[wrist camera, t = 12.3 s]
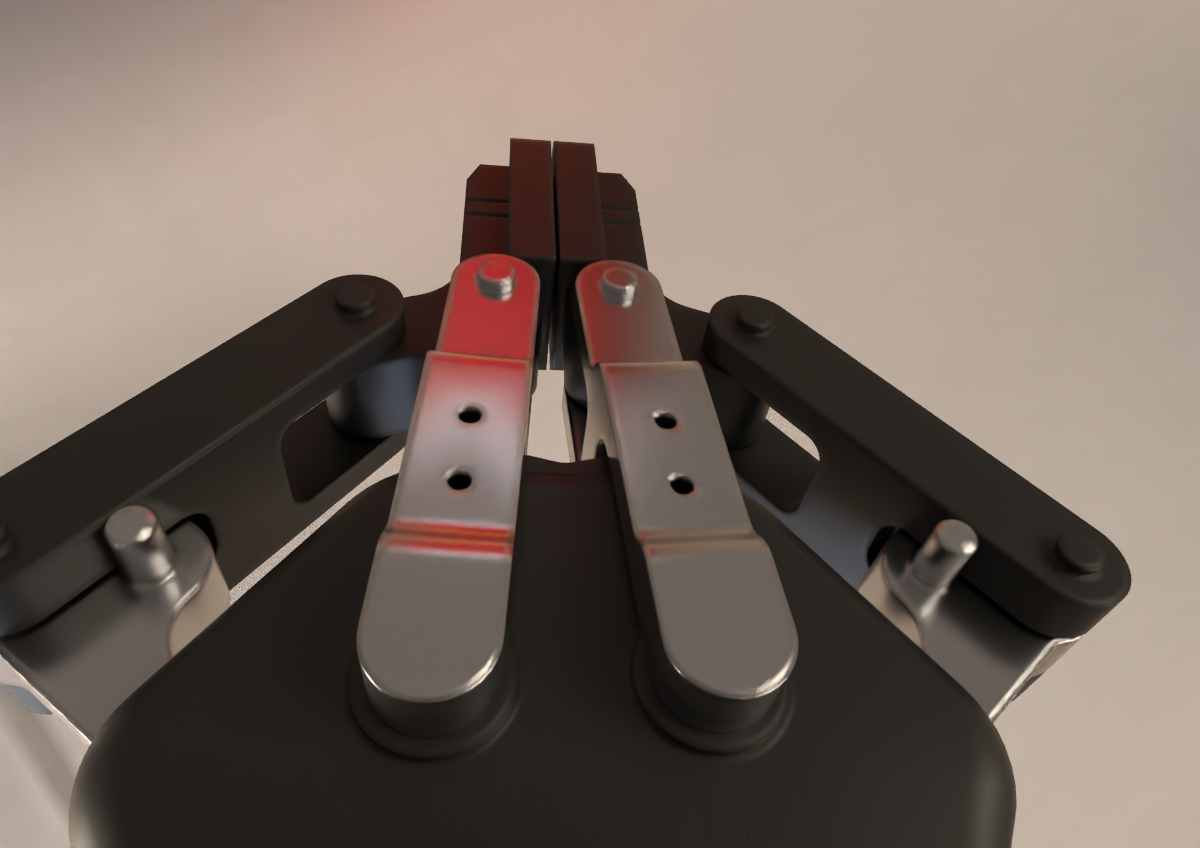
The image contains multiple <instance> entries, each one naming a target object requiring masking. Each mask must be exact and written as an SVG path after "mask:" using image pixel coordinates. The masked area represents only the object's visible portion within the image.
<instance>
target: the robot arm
mask: <svg viewBox="0 0 1200 848" xmlns="http://www.w3.org/2000/svg"><path fill="white" fill-rule="evenodd" d="M548 343H549V354H550V370H564V389H563V398H562V410H563V417H564V424H565V430H566V437H567V444H568V451H569V457H570V463H560V462H555V461H550V460H546V459H542V458H537V457H533V456H528V455H527V446H528V435H529V425H530V414H531V403H532V395H533V393H534V392H535V389H536V386H537V375H538V370H546V366H547V354H548ZM324 399H325V400H324ZM323 400H324V401H323ZM321 401H323V402H321ZM320 402H321V403H320ZM319 403H320V404H319ZM317 404H318V405H317ZM316 405H317V406H316ZM314 406H316V407H314ZM313 407H314V408H313ZM769 407H771V408H773V409H774V410H775V411H776V412H778V413H779V414H780V415H781V416H783V417H784V418H785V419H787V420H788V421H789V422H790V423H792V424H793V425H794V426H796V427H797V428H798V429H799V430H801V431H802V432H803V433H805V434H806V435H807V436H808V437H809V438H810V439H811V440H812V441H813V443H814V444H815V446H816V447H817V450H818V452H819V457H820V461H818V460H817V459H816V458H815V457H813V456H812V455H811V454H810V453H808V452H807V451H806V450H804V449H803V448H802V447H801V446H799V445H798V444H797V443H796V442H794V441H793V440H792V439H791V438H789V437H788V436H787V435H786V434H784V433H783V432H782V431H781V430H779V429H778V428H777V427H775V426H774V425H773V424H772V423H770V422H769V421H768V420H767V419H765V418H766V415H767V413H768V410H769ZM312 408H313V409H312ZM310 409H311V410H310ZM309 410H310V411H309ZM307 411H309V412H307ZM306 412H307V413H306ZM305 413H306V414H305ZM303 414H304V415H303ZM302 415H303V416H302ZM300 416H302V417H300ZM299 417H300V418H299ZM298 418H299V419H298ZM296 419H297V420H296ZM295 420H296V421H295ZM404 447H405V449H404V454H403V458H402V463H401V467H400V471H399V473H397V474H395V475H392V476H390V477H387V478H385V479H383V480H381V481H379V482H377V483H375V484H373V485H371V486H370V487H368V488H366V489H365V490H363V491H362V492H361V493H359V494H358V495H356V496H355V497H354V498H352V499H351V500H350V501H349V502H348V503H346V504H345V505H344V506H343V507H342V508H341V509H340V510H338V511H337V512H336V513H335V514H334V515H333V516H332V517H331V518H329V519H328V520H327V521H326V522H325V523H324V524H323V525H322V526H320V527H319V528H318V529H317V530H316V531H315V532H314V533H313V534H311V535H310V536H309V537H308V538H307V539H306V540H305V541H303V542H302V543H301V544H300V545H299V546H298V547H297V548H296V549H294V550H293V551H292V552H291V553H290V554H289V555H288V556H287V557H285V558H284V559H283V560H282V561H281V562H280V563H279V564H278V565H276V566H275V567H274V568H273V569H272V570H271V571H270V572H268V573H267V574H266V575H265V576H264V577H263V578H262V579H261V580H259V581H258V582H257V583H256V584H255V585H254V586H253V587H252V588H250V589H249V590H248V591H247V592H246V593H245V594H244V595H242V596H241V597H240V598H239V599H238V600H237V601H236V602H235V603H233V604H232V605H231V606H230V593H229V591H230V590H231V589H232V588H233V587H234V586H236V585H237V584H238V583H239V582H241V581H242V580H243V579H244V578H245V577H247V576H248V575H249V574H250V573H252V572H253V571H254V570H255V569H256V568H258V567H259V566H260V565H261V564H262V563H264V562H265V561H266V560H267V559H269V558H270V557H271V556H272V555H273V554H275V553H276V552H277V551H278V550H280V549H281V548H282V547H283V546H284V545H286V544H287V543H288V542H289V541H291V540H292V539H293V538H294V537H295V536H297V535H298V534H299V533H300V532H302V531H303V530H304V529H305V528H306V527H308V526H309V525H310V524H311V523H312V522H314V521H315V520H316V519H317V518H319V517H320V516H321V515H322V514H323V513H325V512H326V511H327V510H328V509H330V508H331V507H332V506H333V505H334V504H336V503H337V502H338V501H339V500H341V499H342V498H343V497H344V496H345V495H347V494H348V493H349V492H350V491H352V490H353V489H354V488H355V487H356V486H358V485H359V484H360V483H361V482H362V481H364V480H365V479H366V478H367V477H369V476H370V475H371V474H372V473H373V472H375V471H376V470H377V469H378V468H380V467H381V466H382V465H383V464H384V463H386V462H387V461H388V460H389V459H391V458H392V457H393V456H394V455H395V454H397V453H398V452H399V451H400V450H401V449H403V448H404ZM1130 587H1131V573H1130V570H1129V567H1128V564H1127V562H1126V560H1125V558H1124V557H1123V555H1122V554H1121V552H1120V551H1119V550H1118V548H1117V547H1116V546H1115V545H1114V544H1113V543H1112V542H1111V541H1110V540H1109V539H1108V538H1107V537H1106V536H1105V535H1103V534H1102V533H1101V532H1099V531H1098V530H1097V529H1095V528H1094V527H1092V526H1091V525H1090V524H1088V523H1087V522H1085V521H1084V520H1083V519H1081V518H1080V517H1078V516H1077V515H1075V514H1074V513H1073V512H1071V511H1070V510H1068V509H1067V508H1065V507H1064V506H1063V505H1061V504H1060V503H1058V502H1057V501H1056V500H1054V499H1053V498H1051V497H1050V496H1048V495H1047V494H1046V493H1044V492H1043V491H1041V490H1040V489H1039V488H1037V487H1036V486H1034V485H1033V484H1031V483H1030V482H1029V481H1027V480H1026V479H1024V478H1023V477H1021V476H1020V475H1019V474H1017V473H1016V472H1014V471H1013V470H1012V469H1010V468H1009V467H1007V466H1006V465H1004V464H1003V463H1002V462H1000V461H999V460H997V459H996V458H994V457H993V456H992V455H990V454H989V453H987V452H986V451H985V450H983V449H982V448H980V447H979V446H977V445H976V444H975V443H973V442H972V441H970V440H969V439H968V438H966V437H965V436H963V435H962V434H960V433H959V432H958V431H956V430H955V429H953V428H952V427H950V426H949V425H948V424H946V423H945V422H943V421H942V420H941V419H939V418H938V417H936V416H935V415H933V414H932V413H931V412H929V411H928V410H926V409H925V408H923V407H922V406H921V405H919V404H918V403H916V402H915V401H914V400H912V399H911V398H909V397H908V396H906V395H905V394H904V393H902V392H901V391H899V390H898V389H897V388H895V387H894V386H892V385H891V384H889V383H888V382H887V381H885V380H884V379H882V378H881V377H879V376H878V375H877V374H875V373H874V372H872V371H871V370H870V369H868V368H867V367H865V366H864V365H862V364H861V363H860V362H858V361H857V360H855V359H854V358H853V357H851V356H850V355H848V354H847V353H845V352H844V351H843V350H841V349H840V348H838V347H837V346H835V345H834V344H833V343H831V342H830V341H828V340H827V339H826V338H824V337H823V336H821V335H820V334H818V333H817V332H816V331H814V330H813V329H811V328H810V327H808V326H807V325H806V324H804V323H803V322H801V321H800V320H799V319H797V318H796V317H794V316H793V315H791V314H790V313H789V312H787V311H786V310H784V309H783V308H782V307H780V306H778V305H777V304H775V303H773V302H771V301H769V300H766V299H763V298H760V297H756V296H749V295H736V296H730V297H726V298H724V299H721V300H720V301H718V302H717V303H716V304H715V305H714V306H713V307H712V309H711V311H710V313H707V312H703V311H699V310H696V309H692V308H689V307H686V306H683V305H680V304H678V303H675V302H673V301H672V300H670V299H668V298H667V297H665V296H664V295H663V291H662V288H661V285H660V283H659V281H658V280H657V278H656V277H655V276H654V275H653V274H652V273H651V272H649V271H648V266H647V260H646V254H645V248H644V242H643V236H642V230H641V225H640V218H639V212H638V206H637V200H636V193H635V190H634V189H633V187H632V186H631V185H630V184H629V183H628V181H627V180H626V179H625V178H624V177H623V176H622V174H616V173H601V172H597V165H596V156H595V147H594V144H588V143H574V142H560V141H554V143H553V150H552V157H551V141H545V140H531V139H517V138H511V139H510V164H509V166H496V165H481V164H480V165H479V166H478V167H477V169H476V170H475V171H474V172H473V173H472V174H471V175H470V177H469V178H468V179H467V185H466V197H465V209H464V221H463V233H462V245H461V257H460V264H459V265H458V266H457V267H456V268H455V270H454V271H453V274H452V277H451V281H450V282H449V283H448V284H446V285H445V286H443V287H442V288H439V289H437V290H435V291H432V292H429V293H426V294H421V295H416V296H410V297H405V298H403V296H402V294H401V292H400V290H399V289H398V288H397V287H396V286H395V285H393V284H392V283H390V282H389V281H387V280H384V279H382V278H379V277H375V276H370V275H361V274H360V275H346V276H341V277H337V278H334V279H331V280H328V281H326V282H325V283H323V284H321V285H319V286H318V287H316V288H314V289H313V290H311V291H309V292H308V293H306V294H304V295H303V296H301V297H299V298H298V299H296V300H294V301H293V302H291V303H289V304H288V305H286V306H284V307H283V308H281V309H279V310H278V311H276V312H274V313H273V314H271V315H269V316H268V317H266V318H264V319H263V320H261V321H259V322H258V323H256V324H254V325H253V326H251V327H249V328H248V329H246V330H244V331H243V332H241V333H239V334H238V335H236V336H234V337H233V338H231V339H229V340H228V341H226V342H224V343H223V344H221V345H219V346H218V347H216V348H214V349H213V350H211V351H209V352H208V353H206V354H204V355H203V356H201V357H199V358H198V359H196V360H194V361H193V362H191V363H189V364H188V365H186V366H184V367H183V368H181V369H179V370H178V371H176V372H175V373H173V374H171V375H170V376H168V377H166V378H165V379H163V380H161V381H160V382H158V383H156V384H155V385H153V386H151V387H150V388H148V389H146V390H145V391H143V392H141V393H140V394H138V395H136V396H135V397H133V398H131V399H130V400H128V401H126V402H125V403H123V404H121V405H120V406H118V407H116V408H115V409H113V410H111V411H110V412H108V413H106V414H105V415H103V416H101V417H100V418H98V419H96V420H95V421H93V422H91V423H90V424H88V425H86V426H85V427H83V428H81V429H80V430H78V431H76V432H75V433H73V434H71V435H70V436H68V437H66V438H65V439H63V440H61V441H60V442H58V443H56V444H55V445H53V446H51V447H50V448H48V449H46V450H45V451H43V452H41V453H40V454H38V455H36V456H35V457H33V458H31V459H30V460H28V461H26V462H25V463H23V464H21V465H20V466H18V467H16V468H15V469H13V470H11V471H10V472H8V473H6V474H5V475H3V476H1V477H0V684H1V685H2V686H3V687H4V688H5V689H6V691H7V692H8V693H9V694H10V695H11V696H12V697H13V698H14V699H15V701H16V702H17V703H19V704H20V705H21V706H22V707H23V708H25V709H27V710H29V711H31V712H34V713H39V714H54V715H55V716H56V717H57V718H58V719H59V720H60V721H61V722H62V723H63V724H64V725H65V726H66V727H67V728H69V729H70V730H71V731H72V732H73V733H74V734H75V735H76V736H77V737H78V738H79V739H80V740H81V741H82V742H83V743H84V744H85V745H86V746H87V747H88V750H87V752H86V754H85V756H84V758H83V760H82V763H81V765H80V767H79V770H78V773H77V776H76V779H75V783H74V787H73V791H72V795H71V801H70V810H69V836H70V843H71V848H1011V844H1012V836H1013V829H1014V822H1015V814H1016V786H1015V780H1014V775H1013V770H1012V765H1011V762H1010V760H1009V757H1008V754H1007V751H1006V748H1005V745H1004V743H1003V741H1002V739H1001V737H1000V735H999V733H998V731H997V729H996V728H995V726H994V724H993V723H994V721H995V720H996V719H997V718H998V717H999V715H1000V714H1001V713H1002V712H1003V710H1004V709H1005V708H1006V707H1007V706H1008V704H1009V703H1010V702H1011V701H1013V700H1015V699H1016V698H1017V697H1018V696H1019V695H1020V694H1022V693H1023V692H1024V691H1025V690H1026V689H1027V688H1028V687H1029V686H1030V685H1031V684H1032V683H1033V682H1034V681H1036V680H1037V679H1038V678H1039V677H1040V676H1041V675H1042V674H1043V673H1044V672H1045V671H1046V670H1047V669H1048V668H1050V667H1051V666H1052V665H1053V664H1054V663H1055V662H1056V661H1057V660H1058V659H1059V658H1060V657H1061V656H1062V655H1063V654H1065V653H1066V652H1067V651H1068V650H1069V649H1070V648H1071V647H1072V646H1073V645H1074V644H1075V643H1076V642H1077V641H1079V640H1080V639H1081V638H1082V637H1083V636H1084V635H1085V634H1086V633H1087V632H1088V631H1089V630H1090V629H1091V628H1093V627H1094V626H1095V625H1096V624H1097V623H1098V622H1099V621H1100V620H1101V619H1102V618H1103V617H1104V616H1105V615H1106V614H1108V613H1109V612H1110V611H1111V610H1112V609H1113V608H1114V607H1115V606H1116V605H1117V604H1118V603H1119V602H1120V601H1122V600H1123V599H1124V598H1125V596H1126V595H1127V594H1128V592H1129V590H1130Z"/></svg>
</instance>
